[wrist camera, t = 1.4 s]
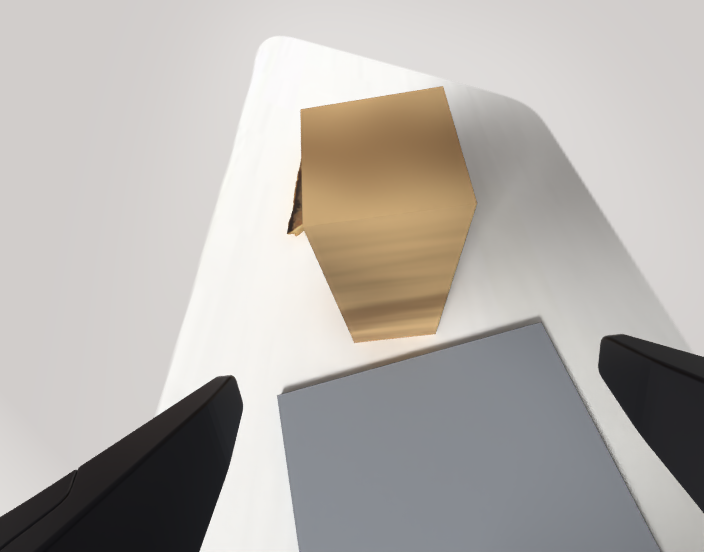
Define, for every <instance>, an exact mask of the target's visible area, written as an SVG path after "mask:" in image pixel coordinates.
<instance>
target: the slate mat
mask: <svg viewBox="0 0 704 552" xmlns="http://www.w3.org/2000/svg"><path fill="white" fill-rule="evenodd" d="M277 398H278V405H279V412H280V419H281V427H282V434H283V441H284V448H285V455H286V462H287V469H288V476H289V483H290V490H291V497H292V504H293V511H294V518H295V525H296V532H297V539H298V546H299V552H661V551H660V549H659V547H658V545H657V543H656V541H655V540H654V538H653V536H652V534H651V532H650V530H649V528H648V526H647V524H646V522H645V520H644V518H643V517H642V515H641V513H640V511H639V509H638V507H637V505H636V503H635V501H634V499H633V497H632V495H631V494H630V492H629V490H628V488H627V486H626V484H625V482H624V480H623V478H622V476H621V474H620V472H619V471H618V469H617V467H616V465H615V463H614V461H613V459H612V457H611V455H610V453H609V451H608V449H607V448H606V446H605V444H604V442H603V440H602V438H601V436H600V434H599V432H598V430H597V428H596V426H595V424H594V423H593V421H592V419H591V417H590V415H589V413H588V411H587V409H586V407H585V405H584V403H583V401H582V400H581V398H580V396H579V394H578V392H577V390H576V388H575V386H574V384H573V382H572V380H571V378H570V377H569V375H568V373H567V371H566V369H565V367H564V365H563V363H562V361H561V359H560V357H559V355H558V354H557V352H556V350H555V348H554V346H553V344H552V342H551V340H550V338H549V336H548V334H547V332H546V331H545V329H544V327H543V325H542V323H541V322H539V323H536V324H532V325H529V326H525V327H521V328H518V329H514V330H511V331H507V332H503V333H500V334H496V335H493V336H489V337H485V338H482V339H478V340H475V341H471V342H467V343H464V344H460V345H457V346H453V347H450V348H446V349H442V350H439V351H435V352H432V353H428V354H424V355H421V356H417V357H414V358H410V359H406V360H403V361H399V362H396V363H392V364H388V365H385V366H381V367H378V368H374V369H371V370H367V371H363V372H360V373H356V374H353V375H349V376H345V377H342V378H338V379H335V380H331V381H327V382H324V383H320V384H317V385H313V386H309V387H306V388H302V389H299V390H295V391H291V392H288V393H284V394H281V395H277Z"/></svg>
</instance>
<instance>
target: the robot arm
mask: <svg viewBox="0 0 704 552" xmlns="http://www.w3.org/2000/svg"><path fill="white" fill-rule="evenodd" d="M598 368H599V373H600V375H601V377H602V379H603V380H604V382H605V383H606V385H607V386H608V388H609V389H610V391H611V392H612V394H613V395H614V397H615V398H616V400H617V401H618V403H619V404H620V406H621V407H622V409H623V410H624V412H625V413H626V415H627V416H628V418H629V419H630V421H631V422H632V424H633V425H634V426H635V428H636V429H637V431H638V432H639V433H640V435H641V436H642V437H643V439H644V440H645V441H646V443H647V444H648V445H649V446H650V448H651V449H652V450H653V451H654V452H655V454H656V455H657V456H658V457H659V459H660V460H661V461H662V462H663V464H664V465H665V466H666V467H667V468H668V470H669V471H670V472H671V473H672V475H673V476H674V477H675V478H676V480H677V481H678V482H679V483H680V484H681V486H682V487H683V488H684V489H685V491H686V492H687V493H688V494H689V495H690V497H691V498H692V499H693V500H694V502H695V503H696V504H697V505H698V507H699V508H700V509H701V510H702V511H703V513H704V357H702V356H698V355H695V354H691V353H688V352H684V351H681V350H677V349H674V348H670V347H667V346H663V345H660V344H656V343H653V342H649V341H646V340H642V339H639V338H635V337H632V336H628V335H624V334H617V335H608V336H605V337H603V338H602V340H601V344H600V354H599V363H598ZM242 411H243V402H242V398H241V394H240V391H239V388H238V384H237V381H236V379H235V377H234V376H232V375H227V376H219V377H216V378H214V379H213V380H211V381H210V382H208V383H207V384H205V385H204V386H202V387H201V388H199V389H198V390H196V391H194V392H193V393H191V394H190V395H188V396H187V397H185V398H184V399H182V400H181V401H179V402H178V403H176V404H175V405H173V406H172V407H170V408H169V409H167V410H165V411H164V412H162V413H161V414H159V415H158V416H156V417H155V418H153V419H152V420H150V421H149V422H147V423H146V424H144V425H143V426H141V427H140V428H138V429H136V430H135V431H133V432H132V433H130V434H129V435H127V436H126V437H124V438H123V439H121V440H120V441H118V442H117V443H115V444H114V445H112V446H111V447H109V448H108V449H106V450H105V451H103V452H102V453H100V454H98V455H97V456H95V457H94V458H92V459H91V460H89V461H88V462H86V463H85V464H83V465H82V466H80V467H79V468H78V470H74V471H72V472H71V473H69V474H68V475H66V476H65V477H63V478H62V479H60V480H59V481H57V482H55V483H54V484H52V485H51V486H49V487H48V488H46V489H44V490H43V491H42V492H40V493H38V494H37V495H35V496H34V497H32V498H31V499H29V500H27V501H26V502H24V503H23V504H21V505H19V506H18V507H16V508H14V509H13V510H11V511H9V512H8V513H6V514H4V515H3V516H1V517H0V552H199V551H200V548H201V546H202V543H203V540H204V537H205V534H206V531H207V529H208V526H209V523H210V520H211V517H212V514H213V512H214V509H215V506H216V503H217V500H218V498H219V495H220V492H221V489H222V486H223V483H224V481H225V478H226V475H227V472H228V469H229V465H230V461H231V457H232V453H233V449H234V445H235V441H236V437H237V432H238V428H239V424H240V420H241V416H242Z"/></svg>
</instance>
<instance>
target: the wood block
mask: <svg viewBox="0 0 704 552" xmlns="http://www.w3.org/2000/svg"><path fill="white" fill-rule="evenodd" d="M301 163H302V217H303V229H304V231H305V233H306V236H307V238H308V240H309V242H310V245H311V247H312V249H313V251H314V254H315V256H316V258H317V260H318V262H319V265H320V267H321V269H322V271H323V274H324V276H325V278H326V280H327V283H328V285H329V287H330V289H331V292H332V294H333V296H334V298H335V300H336V303H337V305H338V307H339V309H340V312H341V314H342V316H343V318H344V321H345V323H346V325H347V327H348V330H349V332H350V334H351V336H352V338H353V341H354V343H357V342H367V341H376V340H385V339H394V338H403V337H412V336H421V335H431V334H436V330H437V327H438V324H439V321H440V318H441V315H442V312H443V308H444V305H445V302H446V299H447V296H448V293H449V290H450V287H451V283H452V280H453V277H454V274H455V271H456V268H457V265H458V261H459V258H460V255H461V252H462V249H463V246H464V243H465V240H466V236H467V233H468V230H469V227H470V224H471V221H472V218H473V215H474V211H475V208H476V205H477V201H476V198H475V194H474V191H473V188H472V184H471V181H470V177H469V174H468V170H467V167H466V164H465V160H464V157H463V153H462V150H461V146H460V143H459V139H458V136H457V133H456V129H455V126H454V122H453V119H452V115H451V112H450V109H449V105H448V102H447V98H446V95H445V91H444V88H443V86H442V87H436V88H429V89H423V90H417V91H411V92H405V93H399V94H392V95H386V96H380V97H374V98H368V99H362V100H356V101H349V102H343V103H337V104H331V105H325V106H319V107H312V108H306V109H301Z"/></svg>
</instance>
